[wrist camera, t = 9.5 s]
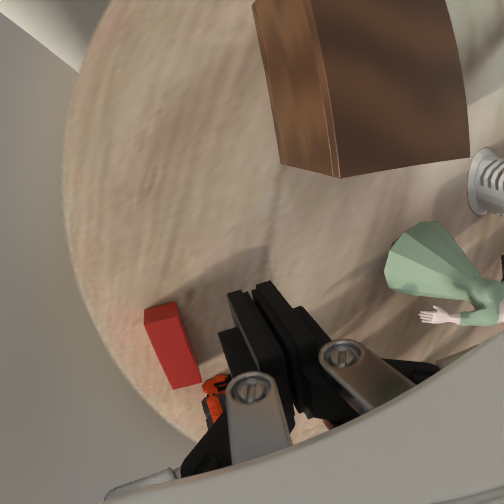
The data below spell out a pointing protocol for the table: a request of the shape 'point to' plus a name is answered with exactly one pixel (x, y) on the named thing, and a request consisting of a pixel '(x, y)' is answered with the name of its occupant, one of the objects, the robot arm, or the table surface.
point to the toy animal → (215, 398)
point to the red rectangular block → (172, 345)
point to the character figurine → (443, 276)
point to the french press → (486, 183)
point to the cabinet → (363, 83)
